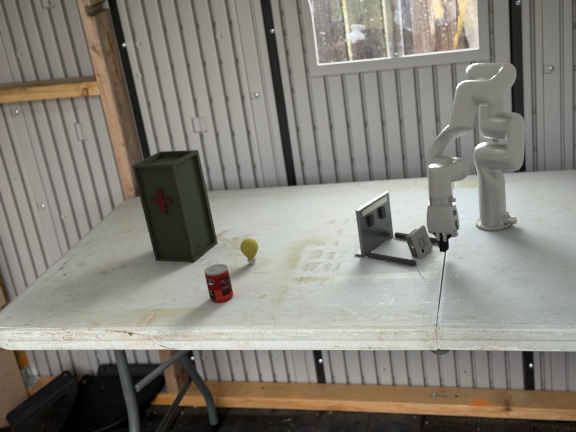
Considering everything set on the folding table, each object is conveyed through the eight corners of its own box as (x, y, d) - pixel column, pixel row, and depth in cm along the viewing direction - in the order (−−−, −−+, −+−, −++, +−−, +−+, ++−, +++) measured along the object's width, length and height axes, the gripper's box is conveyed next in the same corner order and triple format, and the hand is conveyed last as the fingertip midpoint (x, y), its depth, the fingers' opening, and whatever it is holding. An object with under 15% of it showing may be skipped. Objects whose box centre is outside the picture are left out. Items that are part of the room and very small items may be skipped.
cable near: (417, 265, 224) (417, 259, 224) (414, 267, 223) (414, 262, 222) (368, 256, 237) (368, 250, 237) (365, 258, 236) (365, 253, 235)
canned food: (210, 294, 228) (204, 266, 224) (233, 290, 228) (227, 262, 224) (210, 305, 221) (203, 275, 217) (233, 300, 221) (227, 271, 217)
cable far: (444, 243, 237) (443, 238, 237) (441, 245, 236) (441, 240, 235) (396, 235, 250) (395, 231, 250) (393, 237, 249) (393, 233, 248)
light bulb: (263, 259, 249) (259, 235, 245) (257, 267, 243) (252, 242, 240) (247, 259, 251) (242, 235, 248) (240, 267, 245) (236, 242, 242)
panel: (395, 236, 250) (390, 191, 244) (366, 257, 236) (360, 211, 230) (384, 234, 253) (379, 190, 247) (354, 255, 240) (348, 209, 233)
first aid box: (217, 243, 272) (198, 150, 258) (194, 262, 257) (172, 164, 243) (180, 241, 280) (159, 151, 266) (155, 260, 265) (132, 165, 251)
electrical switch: (420, 259, 228) (416, 234, 225) (407, 259, 231) (403, 234, 229) (433, 249, 235) (428, 224, 232) (420, 248, 238) (415, 224, 235)
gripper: (466, 198, 217) (469, 249, 223) (426, 194, 226) (429, 243, 232) (456, 206, 212) (459, 258, 218) (415, 201, 221) (419, 251, 227)
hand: (444, 250), depth 225 cm, fingers closed
